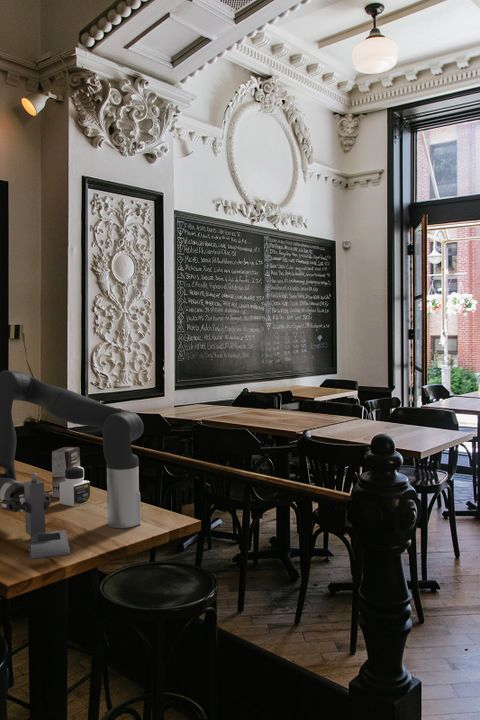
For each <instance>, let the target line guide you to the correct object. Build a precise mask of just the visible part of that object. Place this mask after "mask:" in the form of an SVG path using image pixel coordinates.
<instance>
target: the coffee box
mask: <svg viewBox="0 0 480 720" xmlns="http://www.w3.org/2000/svg"><path fill="white" fill-rule="evenodd" d="M80 451H81V450H80V447H78V446H75V447H74V446H72V447H71V446H70V447H68V446H65V447H61V448H58V449H55V450H53V451H51V469H52V471H51V474H52V476H51V479H52V489H51V490H52V493H51V494H52V495H51V497H52V498H60V483H61V482H65V481H66V480H65V470H66V469H67V468H69V467H74V466H79V467H81V459H80V458H81V457H80V455H81V454H80Z"/></svg>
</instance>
